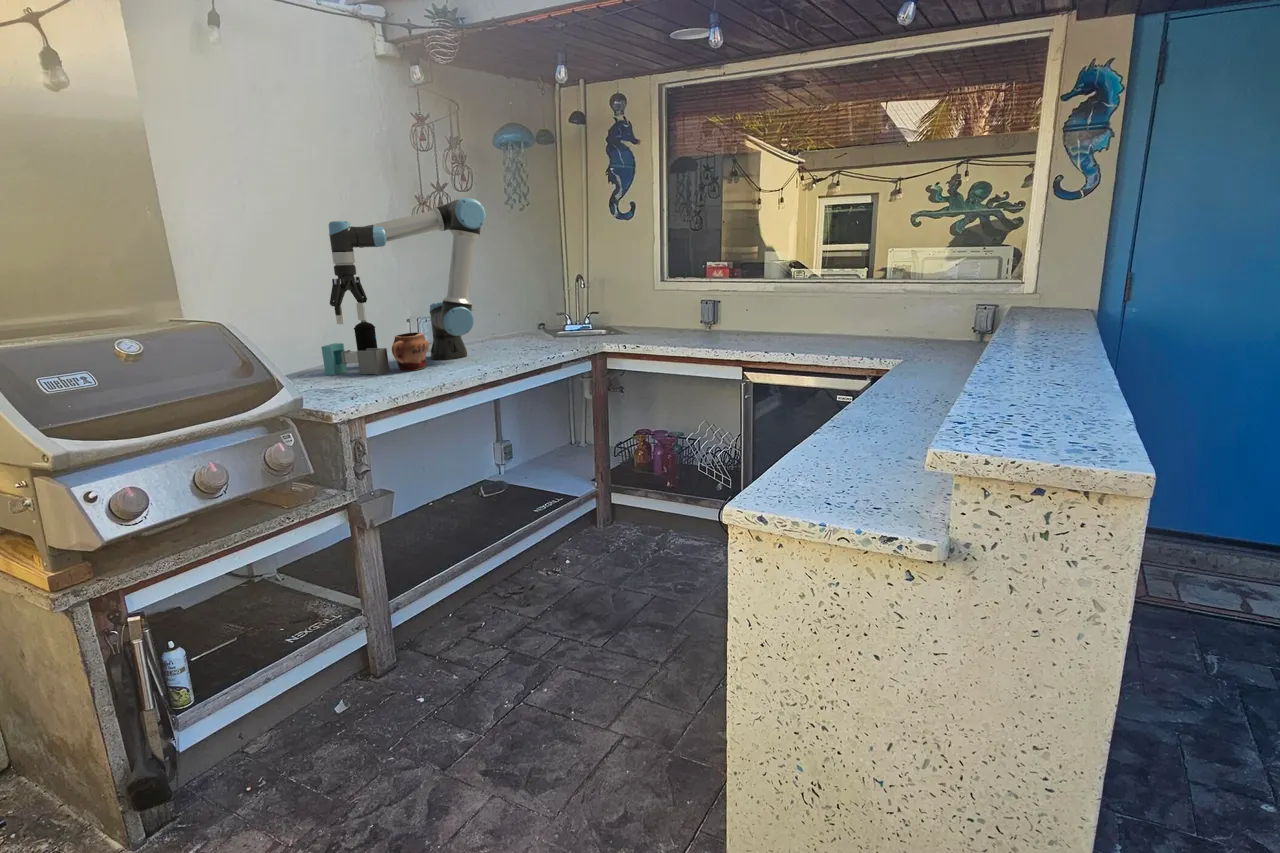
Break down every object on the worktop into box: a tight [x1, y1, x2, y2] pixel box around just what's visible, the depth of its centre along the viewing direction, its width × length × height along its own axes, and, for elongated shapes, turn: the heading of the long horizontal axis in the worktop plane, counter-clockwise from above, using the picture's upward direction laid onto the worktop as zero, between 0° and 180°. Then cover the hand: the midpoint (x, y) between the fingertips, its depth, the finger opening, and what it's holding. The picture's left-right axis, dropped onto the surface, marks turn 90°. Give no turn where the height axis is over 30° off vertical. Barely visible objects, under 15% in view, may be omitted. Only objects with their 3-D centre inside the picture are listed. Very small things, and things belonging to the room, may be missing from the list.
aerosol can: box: [353, 316, 378, 351], centre depth 292 cm, size 8×8×20 cm
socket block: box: [321, 342, 348, 376], centre depth 280 cm, size 4×8×11 cm, turn 168°
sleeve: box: [356, 347, 390, 376], centre depth 277 cm, size 8×7×9 cm
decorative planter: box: [391, 332, 430, 372], centre depth 281 cm, size 20×12×14 cm, turn 167°
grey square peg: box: [341, 349, 358, 365], centre depth 278 cm, size 14×5×5 cm, turn 78°
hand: (351, 322), depth 274 cm, fingers open, 13 cm apart
